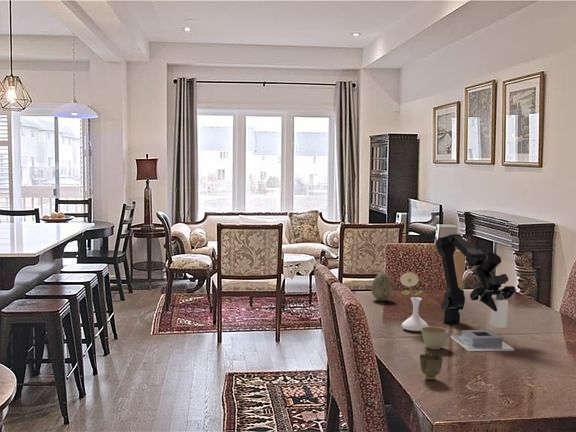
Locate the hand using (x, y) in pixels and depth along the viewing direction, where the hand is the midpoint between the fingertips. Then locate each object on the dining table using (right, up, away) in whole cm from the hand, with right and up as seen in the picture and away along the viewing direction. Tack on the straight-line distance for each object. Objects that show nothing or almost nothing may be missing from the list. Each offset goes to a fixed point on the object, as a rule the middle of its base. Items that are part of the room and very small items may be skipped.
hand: (501, 310), depth 252 cm
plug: (-1, -6, +2) cm, 7 cm away
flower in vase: (-31, -11, +21) cm, 39 cm away
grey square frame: (-8, -13, +1) cm, 15 cm away
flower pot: (-28, -14, -6) cm, 32 cm away
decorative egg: (-36, -7, +78) cm, 86 cm away
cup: (-38, -16, -43) cm, 60 cm away
